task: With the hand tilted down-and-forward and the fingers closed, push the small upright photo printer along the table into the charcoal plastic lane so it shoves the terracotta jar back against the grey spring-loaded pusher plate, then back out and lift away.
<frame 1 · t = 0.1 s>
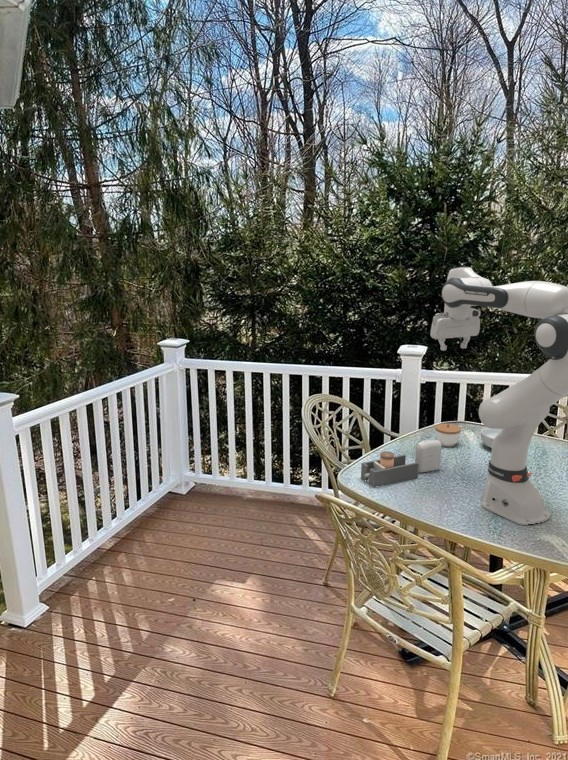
hand: (453, 349, 198), 48 cm above the table, tool pointing down, fingers open, 8 cm apart
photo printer: (427, 470, 209), on the table
lane: (390, 477, 203), on the table
jar: (386, 478, 202), on the table
lidded jar: (446, 444, 235), on the table
pusher: (372, 473, 199), point 3 cm above the table, slide at 0.0 cm
cereal bowl: (500, 448, 231), on the table
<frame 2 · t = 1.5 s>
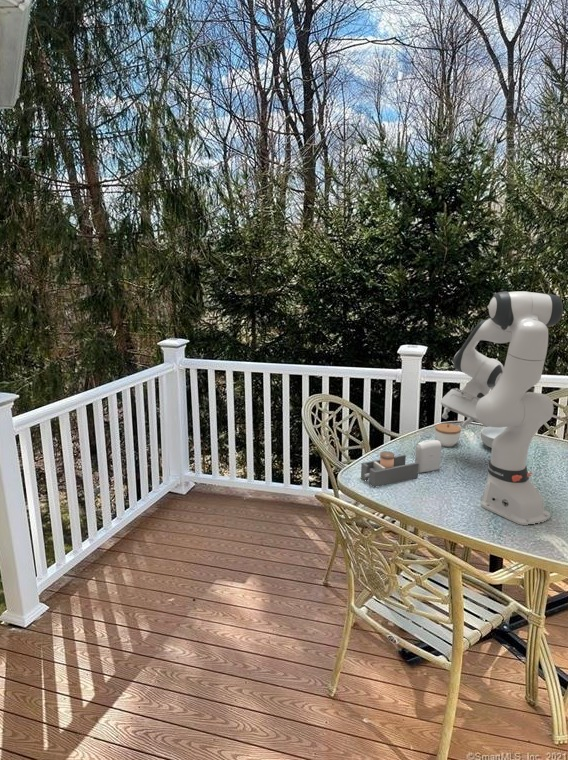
hand: (452, 422, 210), 18 cm above the table, tool tilted 45°, fingers open, 8 cm apart
nothing on the table moved.
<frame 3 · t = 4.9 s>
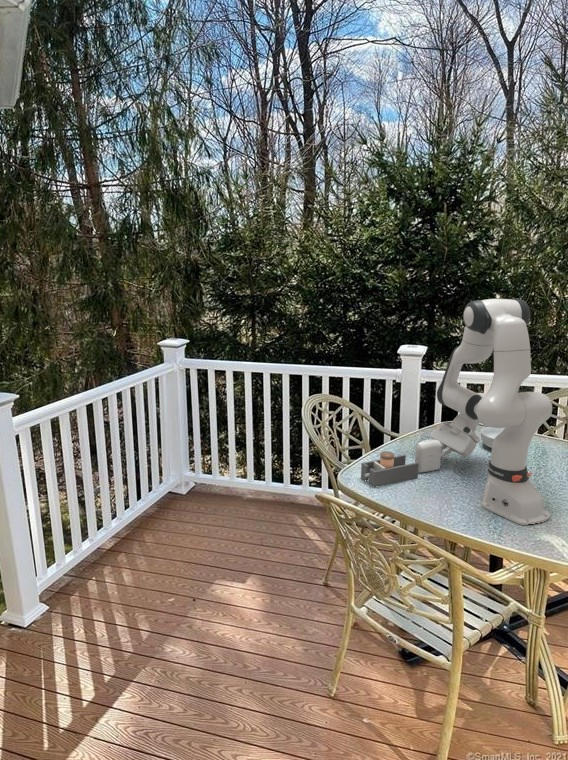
hand: (439, 455, 210), 5 cm above the table, tool tilted 45°, fingers closed, pressing on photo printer
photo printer: (426, 470, 209), on the table, touching gripper
everything else where it was.
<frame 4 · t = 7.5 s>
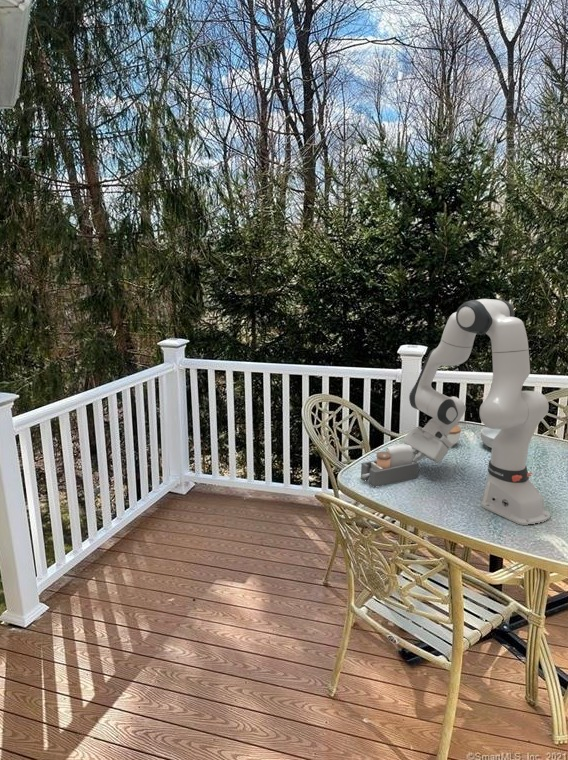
hand: (411, 461, 205), 5 cm above the table, tool tilted 45°, fingers closed, pressing on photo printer
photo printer: (397, 475, 205), on the table, touching gripper, jar
jar: (382, 478, 201), on the table, touching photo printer, pusher
pusher: (370, 474, 198), point 3 cm above the table, slide at 1.2 cm, touching jar
everything else where it was.
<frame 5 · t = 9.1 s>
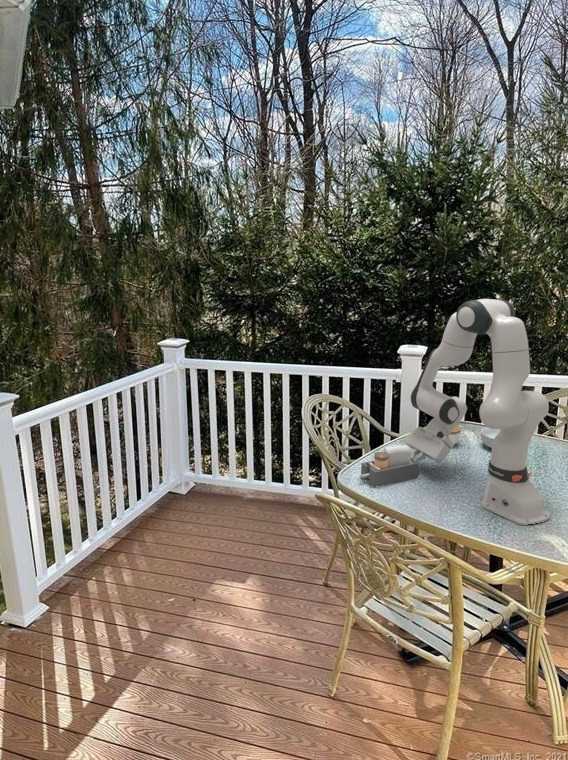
hand: (413, 461, 205), 5 cm above the table, tool tilted 45°, fingers closed
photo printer: (395, 475, 204), on the table, touching jar
jar: (380, 479, 201), on the table, touching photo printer
pusher: (367, 474, 198), point 3 cm above the table, slide at 2.2 cm
everything else where it was.
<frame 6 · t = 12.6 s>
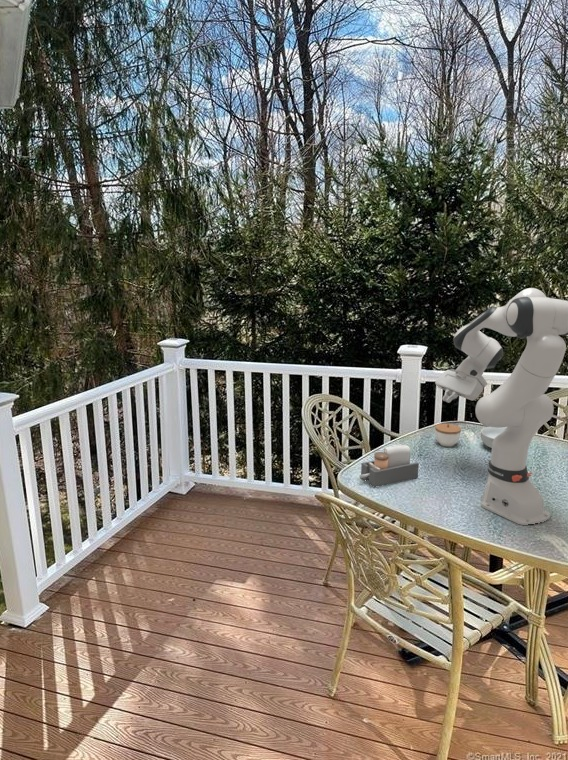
hand: (445, 401, 205), 27 cm above the table, tool tilted 45°, fingers closed
nothing on the table moved.
at the end: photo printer inside the target area (1.4 cm from its centre), on the table; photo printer tilted 0°; jar 3.1 cm from the pusher (horizontally) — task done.
